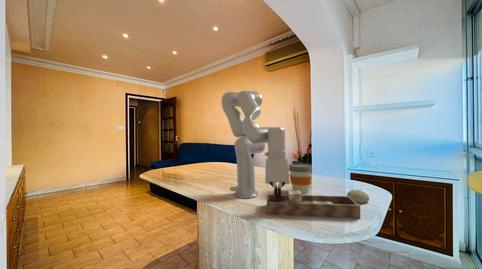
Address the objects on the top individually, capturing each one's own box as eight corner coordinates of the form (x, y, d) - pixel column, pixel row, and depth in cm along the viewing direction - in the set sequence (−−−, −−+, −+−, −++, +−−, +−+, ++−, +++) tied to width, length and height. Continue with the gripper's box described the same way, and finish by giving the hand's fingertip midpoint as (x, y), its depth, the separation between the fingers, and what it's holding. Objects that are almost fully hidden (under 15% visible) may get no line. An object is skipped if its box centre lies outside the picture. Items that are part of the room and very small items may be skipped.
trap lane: (267, 214, 83) (266, 202, 83) (267, 204, 93) (267, 194, 93) (360, 218, 77) (360, 205, 77) (349, 207, 88) (349, 196, 87)
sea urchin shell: (360, 201, 89) (349, 186, 94) (350, 209, 95) (340, 194, 100) (375, 199, 92) (364, 184, 97) (365, 206, 97) (355, 192, 102)
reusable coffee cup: (291, 195, 106) (291, 167, 106) (287, 188, 118) (287, 163, 118) (315, 195, 105) (315, 167, 105) (309, 188, 118) (308, 163, 117)
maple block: (289, 205, 84) (289, 193, 84) (288, 201, 89) (288, 190, 89) (301, 205, 83) (301, 194, 83) (300, 201, 88) (299, 190, 88)
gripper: (259, 156, 84) (260, 199, 85) (295, 156, 82) (296, 200, 82) (260, 154, 92) (261, 193, 92) (293, 154, 89) (294, 194, 90)
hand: (277, 196), depth 87 cm, fingers closed
